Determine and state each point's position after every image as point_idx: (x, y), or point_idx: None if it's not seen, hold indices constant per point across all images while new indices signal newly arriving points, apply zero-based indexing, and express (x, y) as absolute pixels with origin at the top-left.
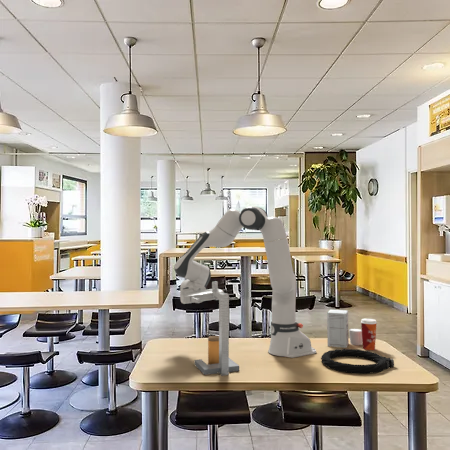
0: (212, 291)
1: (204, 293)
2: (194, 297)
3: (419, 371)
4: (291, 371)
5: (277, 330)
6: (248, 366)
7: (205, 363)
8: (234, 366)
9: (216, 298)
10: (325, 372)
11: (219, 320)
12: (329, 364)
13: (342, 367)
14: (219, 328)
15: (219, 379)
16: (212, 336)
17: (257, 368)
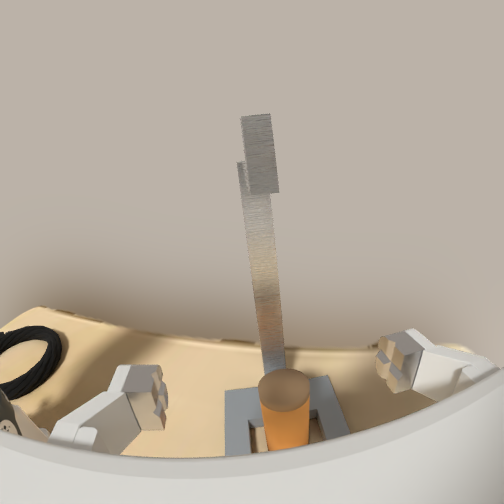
0: (275, 171)
1: (313, 450)
2: (461, 370)
3: (6, 327)
4: None
5: (12, 413)
6: (187, 421)
7: (320, 417)
8: (239, 389)
9: (161, 381)
10: (80, 353)
11: (275, 254)
12: (56, 356)
13: (59, 340)
14: (278, 280)
15: (293, 359)
16: (288, 395)
17: (174, 404)
